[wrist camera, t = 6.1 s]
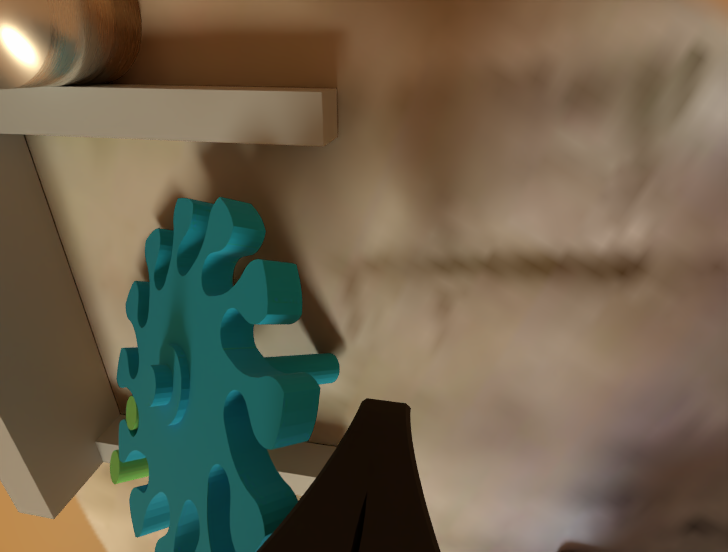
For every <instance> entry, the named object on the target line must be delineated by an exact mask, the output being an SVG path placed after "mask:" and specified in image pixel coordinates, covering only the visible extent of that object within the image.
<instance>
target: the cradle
mask: <svg viewBox="0 0 728 552" xmlns="http://www.w3.org/2000/svg"><path fill="white" fill-rule="evenodd" d="M23 134H25V135H50V136H75V137H100V138H125V139H150V140H175V141H200V142H224V143H249V144H274V145H299V146H325V145H327V144H328V143H329V142H331V141H332V140H334V139H335V138H337V137H338V124H337V88H285V87H232V86H179V85H126V84H85V85H68V86H51V87H33V88H16V89H0V480H1V482H2V484H3V486H4V487H5V489H6V491H7V493H8V494H9V496H10V498H11V499H12V501H13V503H14V505H15V506H16V508H17V510H18V512H21V513H26V514H31V515H36V516H41V517H46V518H51V519H55V517H56V516H57V515H58V514H59V513H60V512H61V511H62V509H63V508H64V507H65V506H66V505H67V503H68V502H69V501H70V500H71V499H72V498H73V497H74V495H75V494H76V493H77V492H78V491H79V490H80V488H81V487H82V486H83V485H84V484H85V483H86V481H87V480H88V479H89V478H90V477H91V476H92V474H93V473H94V472H95V471H96V470H97V469H98V467H99V466H100V465H101V464H102V463H103V462H106V463H110V460H111V455H112V452H113V451H114V450H119V423H120V421H121V420H123V419H126V415H120V412H119V409H118V407H117V404H116V401H115V398H114V395H113V392H112V389H111V386H110V383H109V381H108V378H107V375H106V372H105V369H104V366H103V363H102V360H101V357H100V355H99V352H98V349H97V346H96V343H95V340H94V337H93V334H92V331H91V329H90V326H89V323H88V320H87V317H86V314H85V311H84V308H83V305H82V303H81V300H80V297H79V294H78V291H77V288H76V285H75V282H74V279H73V277H72V274H71V271H70V268H69V265H68V262H67V259H66V256H65V254H64V251H63V248H62V245H61V242H60V239H59V236H58V233H57V230H56V228H55V225H54V222H53V219H52V216H51V213H50V210H49V207H48V204H47V202H46V199H45V196H44V193H43V190H42V187H41V184H40V181H39V178H38V176H37V173H36V170H35V167H34V164H33V161H32V158H31V155H30V152H29V150H28V147H27V144H26V141H25V138H24V135H23ZM336 448H337V447H334V446H327V445H321V444H314V443H307V442H301V443H297V444H293V445H289V446H285V447H281V448H277V449H273V450H269V449H267V450H268V453H269V455H270V458H271V460H272V462H273V464H274V466H275V468H276V470H277V471H278V473H279V474H280V475H281V477H282V478H283V480H284V481H285V482H286V483H287V484H288V485H289V486H290V487H291V489H292V490H293V492H294V493H295V495H300V496H303V494H304V493H305V492H306V490H307V489H308V488H309V486H310V485H311V484H312V483H313V481H314V480H315V479H316V477H317V476H318V474H319V473H320V472H321V470H322V469H323V467H324V466H325V464H326V463H327V461H328V460H329V458H330V457H331V455H332V454H333V452H334V451H335V449H336Z"/></svg>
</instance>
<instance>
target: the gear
mask: <svg viewBox="0 0 728 552" xmlns="http://www.w3.org/2000/svg"><path fill="white" fill-rule="evenodd" d="M173 225H174V231H173V230H166V229H160V228H158V229H155V230H154V231H153V232H152V233H151V234H150V235H149V237H148V238H147V240H146V244H145V258H146V262H147V266H148V272H149V281H150V282H143V281H134V283H133V284H132V287H131V289H130V292H129V295H128V298H127V301H126V313H127V317H128V319H129V320H130V321H131V323H132V324H133V327H134V330H135V333H136V338H137V344H138V347H136V348H121V352H120V357H119V362H118V370H117V383H118V385H119V387H121V388H124V387H127V388H128V389H129V390H130V391H131V393H132V395H133V396H130V397H129V398H128V401H127V405H126V419H123V420H121V421H120V423H119V450H114V451H113V452H112V455H111V460H110V474H111V479H112V482H113V483H114V484H117V483H122V482H126V481H130V480H134V479H138V478H142V477H147V476H149V482H148V484H147V485H143V486H139V487H135V488H133V490H132V491H131V494H130V499H129V500H130V511H131V518H132V523H133V528H134V532H135V537H140V536H143V535H146V534H149V533H152V532H155V531H158V530H161V529H164V528H167V527H169V530H168V532H167V534H166V535H165V536H164V537H162V538H160V539H159V540H158V542H157V544H156V547H155V552H256V551H257V550H258V549H259V548H260V547H261V546H262V545H263V543H264V542H265V541H266V540H267V539H268V538H269V537H270V535H271V534H272V533H273V532H274V531H275V530H276V528H277V527H278V526H279V525H280V524H281V522H282V521H283V520H284V519H285V518H286V516H287V515H288V514H289V513H290V511H291V510H292V509H293V508H294V506H295V505H296V504H297V502H298V500H297V498H296V495H295V493H294V492H293V490H292V489H291V487H290V486H289V485H288V484H287V483H286V482H285V481H284V480H283V478H282V477H281V475H280V474H279V473H278V471H277V470H276V468H275V466H274V464H273V462H272V460H271V458H270V455H269V453H268V450H267V449H269V450H273V449H277V448H281V447H285V446H289V445H293V444H297V443H301V442H305V441H308V440H309V438H310V436H311V434H312V432H313V429H314V425H315V422H316V417H317V411H318V404H319V395H320V387H319V384H326V383H333V382H335V381H336V380H337V378H338V375H339V370H340V369H339V362H338V360H337V358H336V356H335V355H333V354H331V353H324V354H309V355H294V356H279V357H263V356H262V355H261V353H260V352H259V351H258V349H257V348H256V345H255V343H254V338H253V327H254V324H292V323H295V322H296V321H297V320H298V319H299V318H300V317H301V315H302V291H301V284H300V278H299V274H298V269H297V265H296V264H293V263H287V262H279V261H270V260H262V259H256V260H253V261H251V262H250V263H249V264H248V265H247V267H246V268H245V270H244V272H243V274H242V276H241V277H240V279H239V280H238V281H237V283H236V284H235V285H234V286H233V271H234V268H235V265H236V263H237V261H238V260H239V259H240V258H241V257H244V256H249V255H253V254H255V253H256V252H257V251H258V250H259V248H260V247H261V245H262V243H263V240H264V237H265V233H266V230H265V227H264V223H263V221H262V219H261V217H260V215H259V214H258V212H257V210H256V209H255V208H254V207H253V206H252V204H250V203H245V202H241V201H236V200H232V199H227V198H223V197H219V198H218V199H217V200H216V202H215V203H214V204H212V203H207V202H202V201H198V200H193V199H188V198H178V200H177V202H176V206H175V210H174V218H173Z"/></svg>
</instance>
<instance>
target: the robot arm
mask: <svg viewBox="0 0 728 552" xmlns="http://www.w3.org/2000/svg"><path fill="white" fill-rule="evenodd" d="M410 410H411V408H410V407H409V406H408V405H407V404H406V403H398V402H391V401H383V400H376V399H368V398H367V399H365V400H364V401H362V403H361V405H360V407H359V409H358V411H357V413H356V415H355V417H354V419H353V421H352V423H351V425H350V426H349V428H348V430H347V431H346V433H345V435H344V436H343V438H342V440H341V441H340V443H339V445H338V446H337V448H336V449H335V451H334V452H333V454H332V455H331V457H330V458H329V460H328V461H327V463H326V464H325V466H324V467H323V469H322V470H321V472H320V473H319V474H318V476H317V477H316V479H315V480H314V481H313V483H312V484H311V485H310V486H309V488H308V489H307V490H306V492H305V493H304V494H303V496H302V497H301V498H300V500H299V501H298V502H297V504H296V505H295V506H294V508H293V509H292V510H291V511H290V513H289V514H288V515H287V516H286V518H285V519H284V520H283V521H282V522H281V524H280V525H279V526H278V527H277V528H276V530H275V531H274V532H273V533H272V534H271V535H270V537H269V538H268V539H267V540H266V541H265V542H264V543H263V545H262V546H261V547H260V548H259V549H258V550H257V551H256V552H440V549H439V546H438V543H437V540H436V536H435V533H434V530H433V526H432V523H431V520H430V516H429V513H428V509H427V506H426V502H425V498H424V494H423V490H422V486H421V482H420V478H419V473H418V469H417V464H416V460H415V454H414V448H413V442H412V434H411V423H410Z"/></svg>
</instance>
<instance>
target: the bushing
mask: <svg viewBox="0 0 728 552" xmlns="http://www.w3.org/2000/svg"><path fill="white" fill-rule="evenodd" d="M141 32H142V26H141V15H140V8H139V4H138V0H0V89H16V88H33V87H51V86H68V85H85V84H102V83H108V82H112V81H114V80H116V79H118V78H120V77H121V76H123V75H124V74H125V73H126V72H127V71H128V70H129V69H130V67H131V66H132V64H133V63H134V61H135V59H136V57H137V54H138V51H139V47H140V42H141Z"/></svg>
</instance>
